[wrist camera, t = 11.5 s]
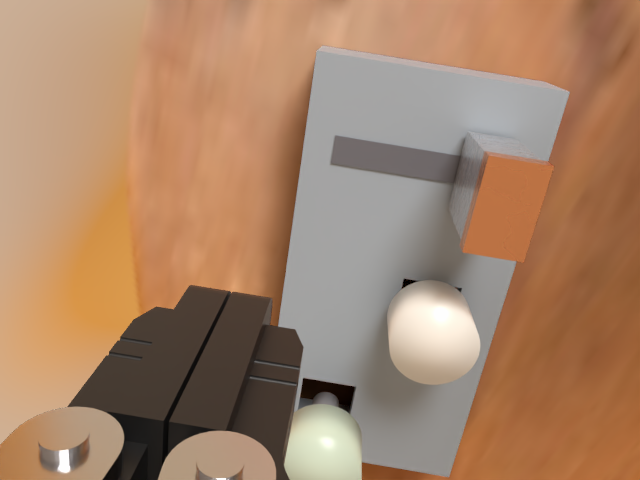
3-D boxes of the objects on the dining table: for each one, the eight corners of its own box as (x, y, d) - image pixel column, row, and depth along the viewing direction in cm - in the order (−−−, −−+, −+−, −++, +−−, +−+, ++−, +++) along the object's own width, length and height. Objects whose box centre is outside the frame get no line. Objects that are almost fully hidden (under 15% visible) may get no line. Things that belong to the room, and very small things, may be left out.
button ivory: (469, 264, 32) (490, 316, 27) (451, 330, 34) (467, 391, 29) (393, 251, 32) (399, 300, 27) (378, 317, 34) (381, 376, 29)
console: (544, 81, 30) (570, 92, 26) (441, 433, 39) (449, 478, 36) (322, 45, 30) (316, 50, 26) (270, 404, 39) (261, 446, 36)
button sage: (368, 379, 33) (368, 451, 28) (355, 437, 35) (353, 515, 30) (294, 366, 33) (281, 436, 28) (285, 425, 35) (271, 501, 30)
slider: (519, 137, 27) (554, 166, 22) (496, 218, 29) (523, 262, 24) (465, 128, 27) (488, 155, 22) (445, 210, 29) (462, 252, 24)
